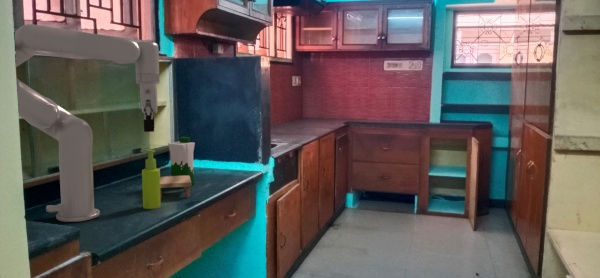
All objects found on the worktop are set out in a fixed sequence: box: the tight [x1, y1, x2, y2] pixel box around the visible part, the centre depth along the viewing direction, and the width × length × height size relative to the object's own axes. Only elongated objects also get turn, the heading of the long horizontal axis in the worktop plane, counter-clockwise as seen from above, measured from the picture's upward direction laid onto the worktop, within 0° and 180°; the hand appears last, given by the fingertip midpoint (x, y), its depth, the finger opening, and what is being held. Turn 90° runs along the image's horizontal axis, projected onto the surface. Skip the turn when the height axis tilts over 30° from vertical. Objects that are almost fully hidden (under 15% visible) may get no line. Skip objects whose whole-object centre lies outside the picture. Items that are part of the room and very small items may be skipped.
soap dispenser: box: [139, 148, 162, 210], centre depth 164 cm, size 6×7×20 cm
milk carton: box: [167, 136, 196, 189], centre depth 196 cm, size 9×9×20 cm
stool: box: [160, 175, 192, 200], centre depth 181 cm, size 13×13×6 cm
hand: (149, 129), depth 162 cm, fingers open, 9 cm apart
